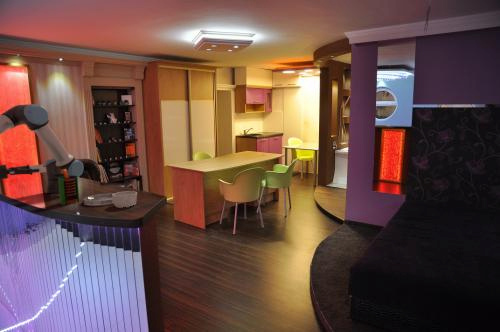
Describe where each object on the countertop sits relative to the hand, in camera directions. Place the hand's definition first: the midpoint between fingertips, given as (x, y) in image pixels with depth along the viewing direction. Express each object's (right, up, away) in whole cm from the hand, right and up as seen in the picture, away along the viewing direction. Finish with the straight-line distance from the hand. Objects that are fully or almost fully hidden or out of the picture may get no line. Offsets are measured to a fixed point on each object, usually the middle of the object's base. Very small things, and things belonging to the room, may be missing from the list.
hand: (44, 168), depth 193 cm
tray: (+28, -20, +10) cm, 36 cm away
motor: (+9, -21, +10) cm, 25 cm away
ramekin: (+46, -21, +1) cm, 50 cm away
